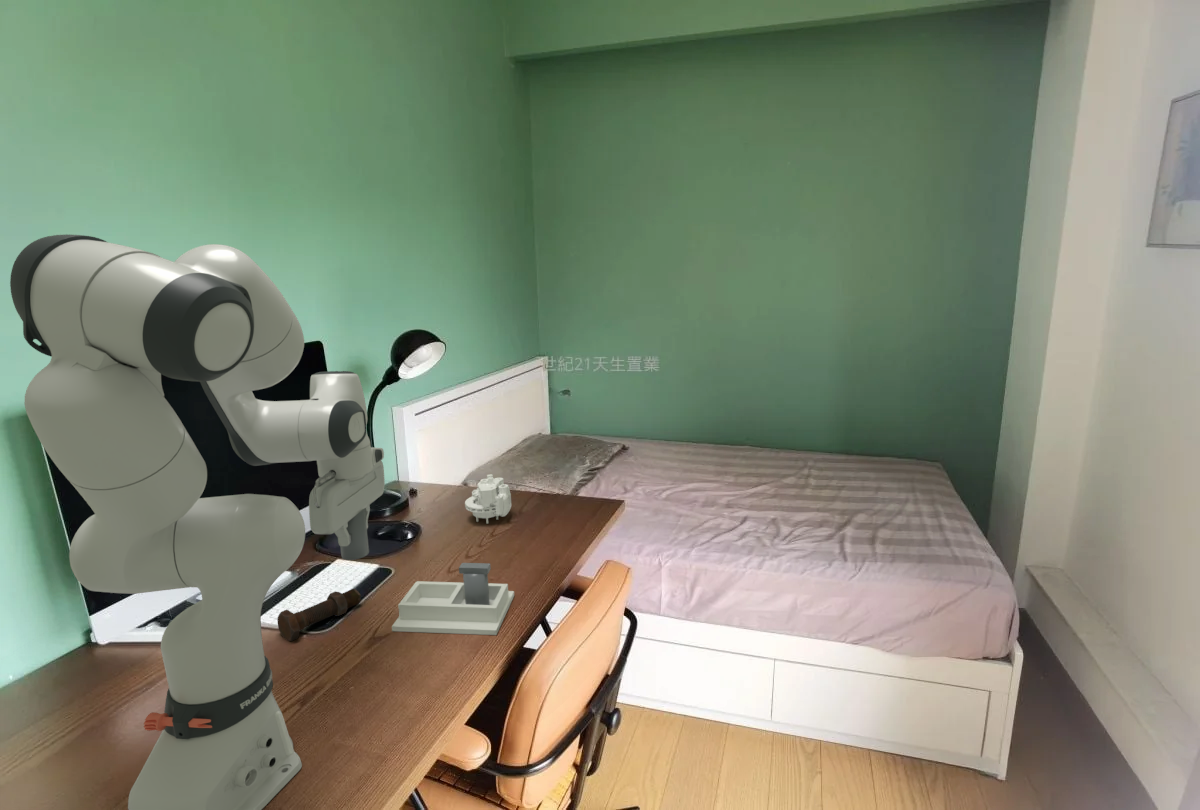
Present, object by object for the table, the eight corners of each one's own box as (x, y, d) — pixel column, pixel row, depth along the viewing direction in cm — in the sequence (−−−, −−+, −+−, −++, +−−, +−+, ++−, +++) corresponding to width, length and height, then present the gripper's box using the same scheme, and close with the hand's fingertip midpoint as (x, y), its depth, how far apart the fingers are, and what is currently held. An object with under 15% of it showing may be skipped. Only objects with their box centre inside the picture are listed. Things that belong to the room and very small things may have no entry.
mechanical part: (474, 510, 175) (471, 469, 172) (516, 511, 173) (514, 470, 171) (460, 527, 164) (456, 484, 161) (504, 529, 162) (502, 485, 160)
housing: (496, 635, 117) (492, 584, 114) (392, 631, 119) (386, 581, 116) (514, 595, 130) (511, 549, 128) (420, 592, 132) (415, 547, 130)
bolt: (361, 613, 129) (288, 647, 117) (348, 595, 131) (275, 627, 119) (367, 594, 126) (293, 627, 114) (354, 577, 128) (279, 607, 116)
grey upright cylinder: (361, 560, 111) (356, 517, 109) (336, 559, 111) (331, 516, 109) (373, 548, 115) (369, 507, 113) (349, 548, 116) (344, 506, 114)
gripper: (331, 482, 99) (341, 564, 102) (387, 446, 119) (394, 516, 122) (293, 482, 100) (304, 563, 103) (355, 446, 120) (363, 515, 123)
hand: (354, 537), depth 112 cm, fingers closed on grey upright cylinder, 5 cm apart
